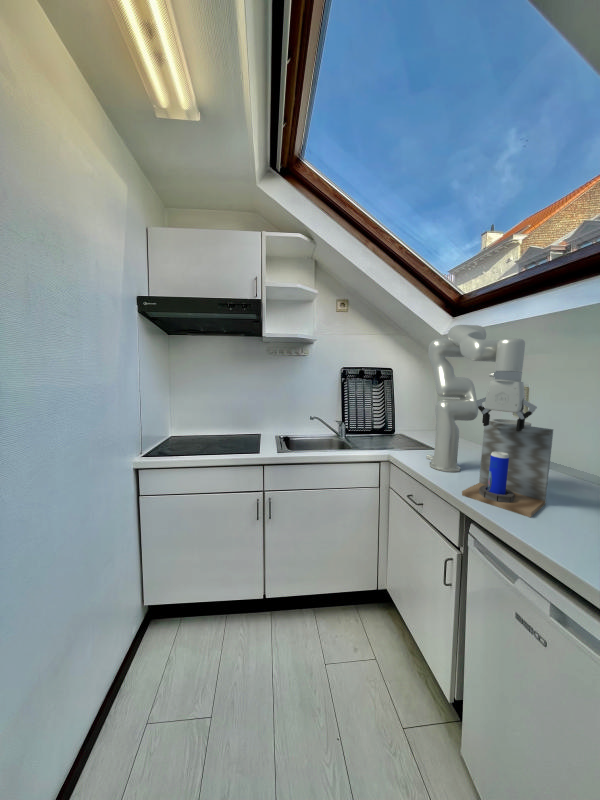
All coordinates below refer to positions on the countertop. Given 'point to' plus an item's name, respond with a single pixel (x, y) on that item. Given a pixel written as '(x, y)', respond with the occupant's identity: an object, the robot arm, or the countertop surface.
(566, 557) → the countertop surface
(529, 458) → the display stand
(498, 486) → the beverage can
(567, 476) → the countertop surface
